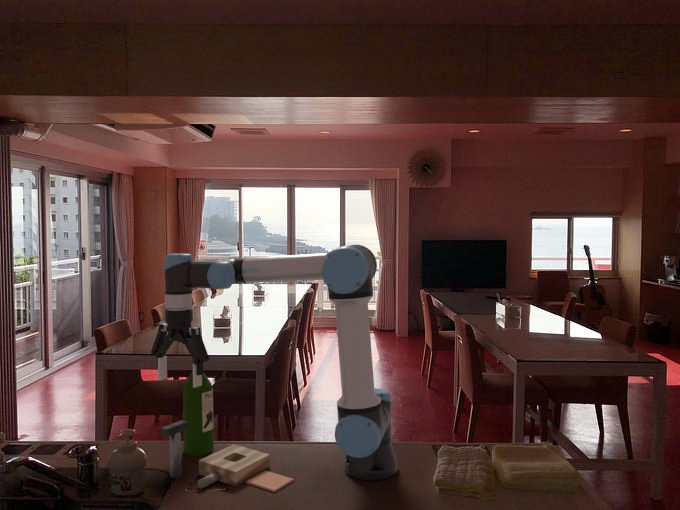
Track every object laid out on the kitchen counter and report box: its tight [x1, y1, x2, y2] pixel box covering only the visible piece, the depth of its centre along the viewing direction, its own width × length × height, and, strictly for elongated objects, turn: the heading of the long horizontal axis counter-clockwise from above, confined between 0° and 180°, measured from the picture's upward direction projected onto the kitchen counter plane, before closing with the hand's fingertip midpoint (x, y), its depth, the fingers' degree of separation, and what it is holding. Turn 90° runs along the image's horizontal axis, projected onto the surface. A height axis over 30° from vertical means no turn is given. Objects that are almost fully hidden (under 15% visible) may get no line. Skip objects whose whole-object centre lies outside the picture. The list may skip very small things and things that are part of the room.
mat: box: [245, 470, 294, 493], centre depth 156 cm, size 10×8×1 cm
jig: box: [197, 444, 271, 490], centre depth 160 cm, size 14×20×4 cm
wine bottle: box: [182, 357, 214, 457], centre depth 177 cm, size 9×9×32 cm
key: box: [160, 419, 189, 479], centre depth 160 cm, size 3×8×14 cm, turn 147°
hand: (179, 382), depth 162 cm, fingers open, 13 cm apart
